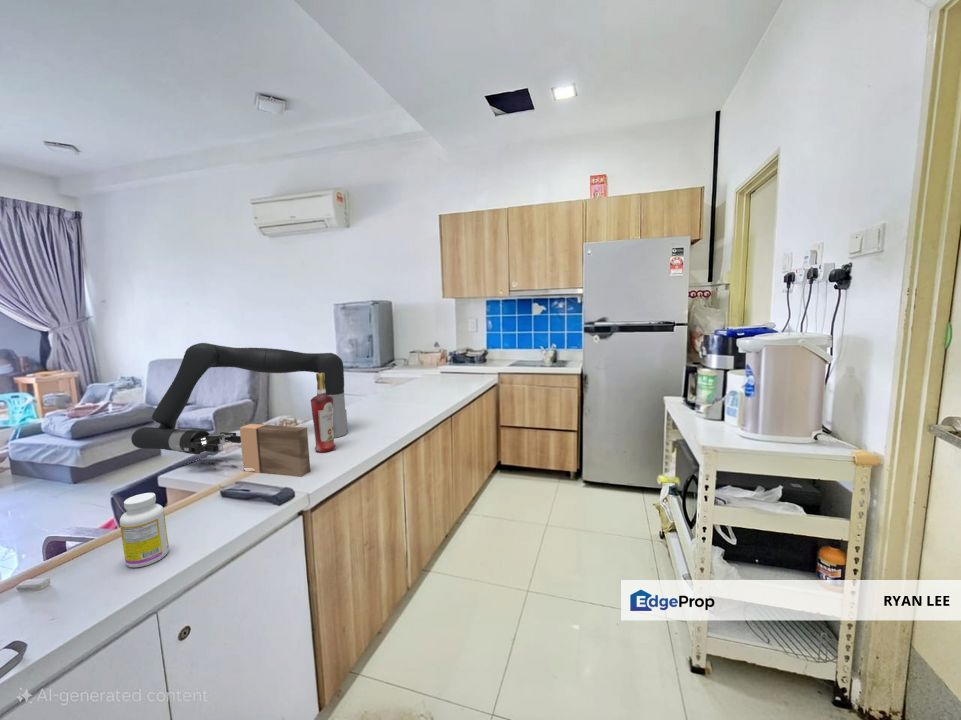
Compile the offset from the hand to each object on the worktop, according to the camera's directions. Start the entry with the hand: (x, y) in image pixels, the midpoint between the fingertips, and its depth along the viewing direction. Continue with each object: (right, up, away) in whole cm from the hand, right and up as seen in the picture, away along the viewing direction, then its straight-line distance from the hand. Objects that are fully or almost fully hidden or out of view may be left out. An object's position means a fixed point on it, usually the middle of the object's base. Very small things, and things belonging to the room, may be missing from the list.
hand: (229, 443), depth 123 cm
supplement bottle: (+13, -13, -45) cm, 49 cm away
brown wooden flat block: (+20, -8, -4) cm, 22 cm away
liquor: (+24, -6, +15) cm, 29 cm away
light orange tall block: (+10, -8, -2) cm, 12 cm away
